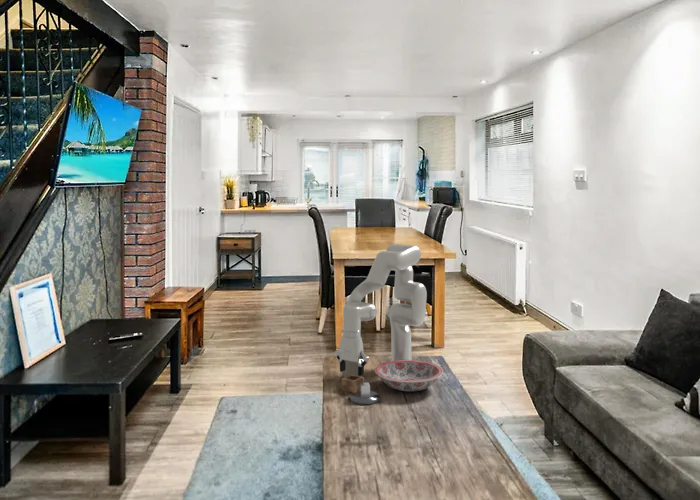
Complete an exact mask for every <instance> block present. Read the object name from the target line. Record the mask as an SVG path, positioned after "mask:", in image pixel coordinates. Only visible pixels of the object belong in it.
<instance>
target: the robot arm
mask: <svg viewBox="0 0 700 500" xmlns="http://www.w3.org/2000/svg"><path fill="white" fill-rule="evenodd" d="M421 256H422V253H421V249H420V247H418V246H417V245H413V244H402V243H400V244H398V243H393V244H390V245H388V246H387V247H386V250H383V251H379V252H378V253H377V254H376V257H375V258H374V261H373V263H372V266H371V268H370V269H369V273H368V274H367V277H366V279H364V280H363V281H362V282H360V284H359V285H357V286H356V287H355V288H354V289H353V291H352V292H351V293H350V295H349V297H348V300H347V303H346V305H344V306H343V309H342V318H343V320H342V321H343V322H342V323H343V324H342V330H341V333H342V335H341V337H340V343H339V349H337V350H335V351H334V354H335V355H336V359H337V360H338V363H339V372H340V373H343V372H344V371H345V370H346V362H345V360H346V361H351V362H357V363H358V365H359V367H358V376H361V377H362V376H363V375H364V373H365V366H366V365H367V363H368V361H369V360H370V357H369V356H368V355H367V354H366V353H365V352H364V342H363V337H362V333H361V332H362V330H361V329H362V326H361V325H362V323H361V322H366V321H372V320H374V319H375V318H376V316H377V313H378V310H377V307H376V306H375V305H374V304H372V303H370V302H369V303H368V302H364V301H362V300H363V299H364V298H365V297H366V296H367V295H369V294H371V293H373V292H376V291H379V290H380V289H383V288H384V287H385V285H386V283H387V281H388V277H389V275H390V273H391V271H394V272H395V274H394V287H393V295H394V298H395V299H396V300H397V301H401V302H402V301H403V302H407V303H400V302H399V303H395V304H392V305H391V306H390V308H389V310H388V317H389V322H390V332H391V338H390V339H391V344H390V345H391V348H390V349H391V360H390V361H398V360H412V331H411V326H412V327H420V326H422V325H423V324H424V322H425V318H426V309H427V300H428V299H427V298H428V297H427V296H428V293H427V288H426V286H425V285H424V284H423V283H421V282H417V281H414V269H413V266H414V265H416V264H418V262H419V261H420V259H421ZM408 303H411V304H408Z"/></svg>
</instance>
